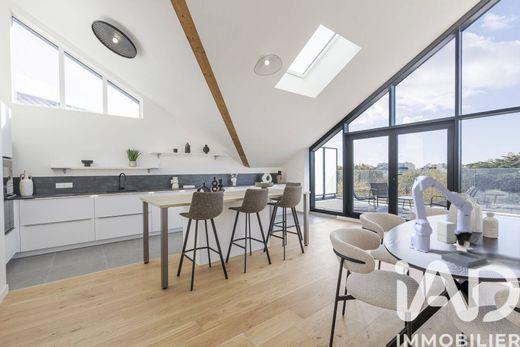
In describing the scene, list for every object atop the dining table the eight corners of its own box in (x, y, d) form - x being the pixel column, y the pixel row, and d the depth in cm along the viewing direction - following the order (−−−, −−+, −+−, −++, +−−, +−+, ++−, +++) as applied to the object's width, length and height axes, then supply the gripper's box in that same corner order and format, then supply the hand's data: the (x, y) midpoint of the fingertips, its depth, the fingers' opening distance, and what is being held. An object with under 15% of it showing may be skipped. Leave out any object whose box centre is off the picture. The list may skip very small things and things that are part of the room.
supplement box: (456, 242, 161) (456, 223, 160) (446, 243, 160) (446, 223, 159) (445, 239, 168) (446, 220, 168) (436, 239, 167) (436, 221, 167)
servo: (452, 249, 148) (452, 238, 148) (455, 248, 149) (455, 238, 149) (470, 254, 140) (470, 243, 139) (473, 253, 141) (473, 242, 141)
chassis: (441, 259, 133) (441, 254, 133) (460, 254, 140) (460, 250, 140) (467, 267, 122) (467, 263, 122) (486, 262, 129) (486, 257, 129)
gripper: (464, 224, 137) (463, 248, 138) (479, 222, 143) (478, 245, 143) (450, 221, 144) (449, 245, 144) (464, 219, 149) (464, 241, 150)
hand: (462, 245), depth 144 cm, fingers closed on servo, 3 cm apart
